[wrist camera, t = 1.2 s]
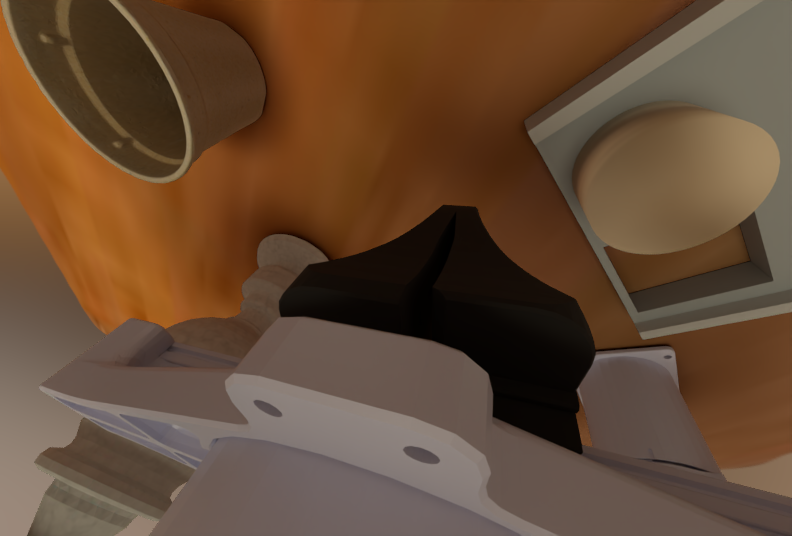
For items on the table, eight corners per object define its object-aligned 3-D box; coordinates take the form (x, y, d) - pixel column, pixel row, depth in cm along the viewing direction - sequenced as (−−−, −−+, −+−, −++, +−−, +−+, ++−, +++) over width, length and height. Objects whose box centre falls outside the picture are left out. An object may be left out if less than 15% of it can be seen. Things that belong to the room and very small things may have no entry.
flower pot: (200, -65, 16) (-9, -141, 9) (313, 94, 19) (219, 119, 13) (153, 58, 21) (-2, 64, 15) (249, 166, 24) (159, 209, 18)
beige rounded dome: (595, 232, 18) (615, 271, 15) (553, 153, 16) (565, 179, 13) (730, 178, 14) (793, 215, 11) (697, 67, 12) (762, 75, 9)
